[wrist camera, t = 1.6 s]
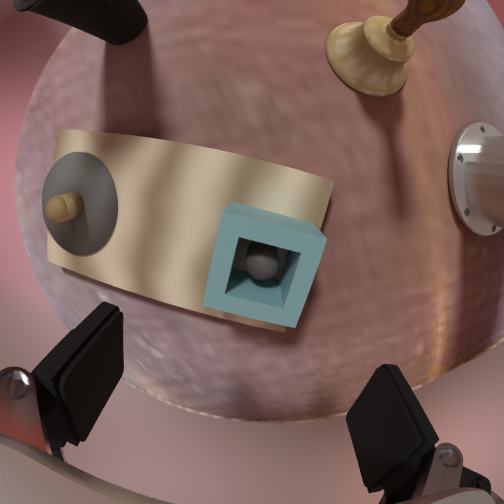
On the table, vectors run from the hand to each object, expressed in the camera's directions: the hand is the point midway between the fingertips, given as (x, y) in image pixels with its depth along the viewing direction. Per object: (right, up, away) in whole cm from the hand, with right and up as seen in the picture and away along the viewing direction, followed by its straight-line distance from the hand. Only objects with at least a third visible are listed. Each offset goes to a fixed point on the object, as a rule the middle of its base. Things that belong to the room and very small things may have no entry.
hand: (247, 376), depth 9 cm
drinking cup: (-13, +27, +9) cm, 31 cm away
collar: (+1, +4, +13) cm, 14 cm away
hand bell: (+11, +22, +10) cm, 27 cm away
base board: (-8, +7, +15) cm, 18 cm away
